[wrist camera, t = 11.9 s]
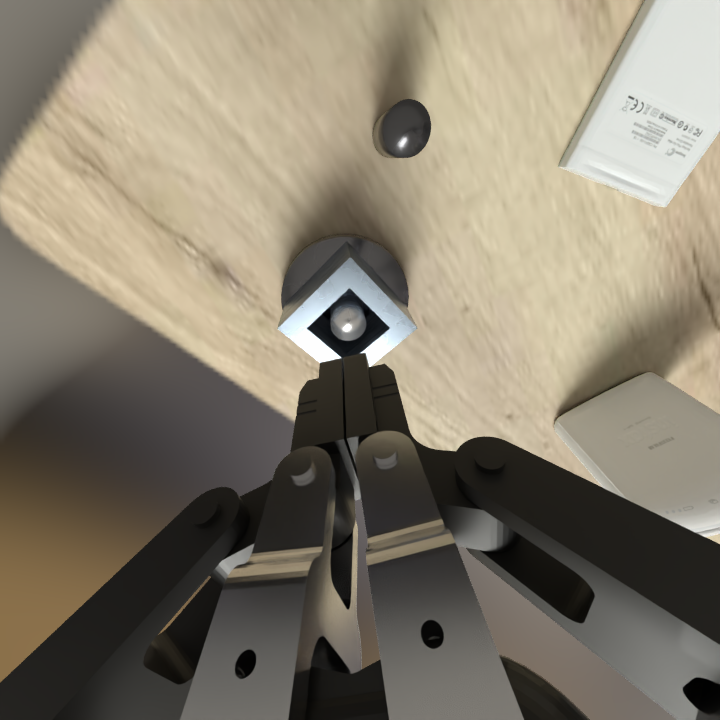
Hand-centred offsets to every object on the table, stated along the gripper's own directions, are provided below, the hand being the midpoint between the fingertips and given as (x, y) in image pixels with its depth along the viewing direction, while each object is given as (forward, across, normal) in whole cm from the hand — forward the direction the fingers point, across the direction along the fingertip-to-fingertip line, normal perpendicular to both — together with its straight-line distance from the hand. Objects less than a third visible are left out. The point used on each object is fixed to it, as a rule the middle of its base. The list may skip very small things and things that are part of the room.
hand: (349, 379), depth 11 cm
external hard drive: (+15, -21, -6) cm, 27 cm away
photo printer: (+14, -22, +20) cm, 32 cm away
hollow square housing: (+13, 0, +3) cm, 13 cm away
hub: (+14, 0, +3) cm, 14 cm away
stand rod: (+14, -4, -6) cm, 16 cm away
